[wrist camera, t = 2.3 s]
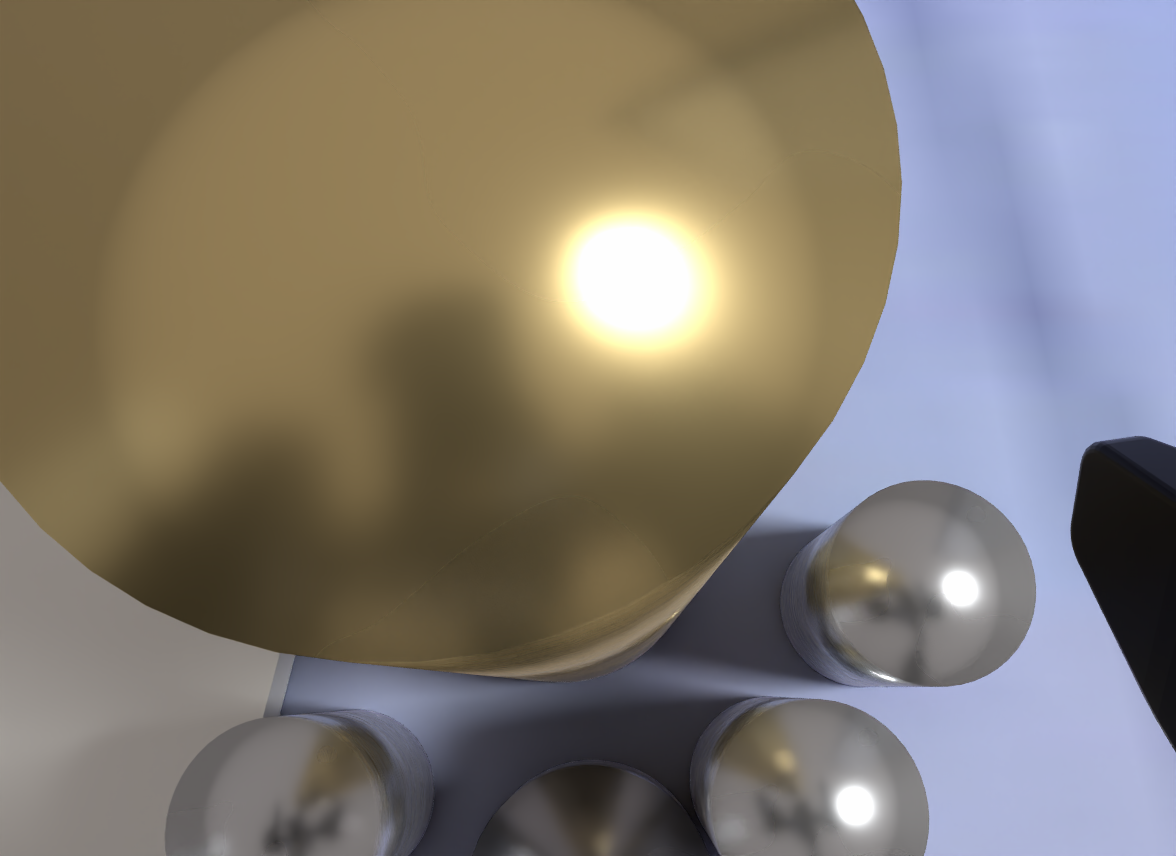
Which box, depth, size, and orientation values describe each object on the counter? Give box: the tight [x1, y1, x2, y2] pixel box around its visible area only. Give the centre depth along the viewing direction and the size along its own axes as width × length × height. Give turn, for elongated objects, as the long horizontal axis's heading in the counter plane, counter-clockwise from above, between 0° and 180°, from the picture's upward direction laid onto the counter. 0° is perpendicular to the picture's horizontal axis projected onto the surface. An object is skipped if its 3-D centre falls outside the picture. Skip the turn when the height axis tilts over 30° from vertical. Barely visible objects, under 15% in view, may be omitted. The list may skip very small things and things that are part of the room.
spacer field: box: [165, 480, 1036, 856], centre depth 14 cm, size 8×10×4 cm
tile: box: [0, 482, 295, 856], centre depth 16 cm, size 8×8×1 cm
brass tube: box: [0, 0, 902, 682], centre depth 11 cm, size 4×4×13 cm
